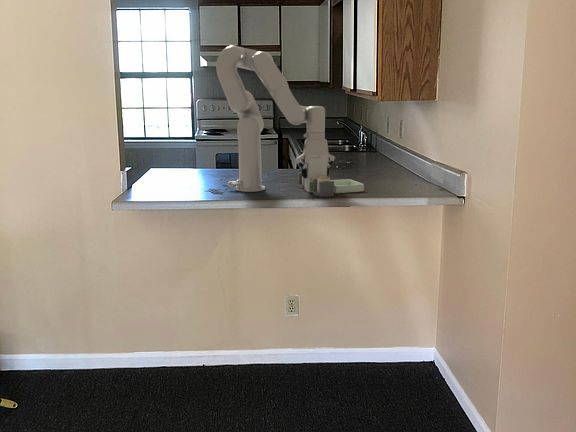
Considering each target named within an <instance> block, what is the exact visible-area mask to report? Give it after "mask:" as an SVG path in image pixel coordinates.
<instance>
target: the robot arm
mask: <svg viewBox="0 0 576 432" xmlns="http://www.w3.org/2000/svg"><path fill="white" fill-rule="evenodd" d="M215 68H216V69H215V70H216V74H217V78H218V80H219V83H220V86H221V88H222V90H223V93H224V95H225V98H226V100H227V103H228V105H229V107H230V110H231V111H232V112H234V113H236V114H237V117H238V119H239V120H238V122H237V127H236V133H237V142H238V143H237V147H238V178H237V180H234V181H233V180H232V181H227V185H228V187H235V190H236V191H239V192H241V193H243V192H244V193H245V192H246V193H254V192H255V193H256V192H262V191H265V190H266V186H265V185H262V183H263V181H262V143H261V142H262V141H261V133H262V131H263V130H264V128H265V125H264V124H265V122H264V118H263V117H262V116H263V115H262V113H261V112H260V109H259V107H258V104H257V102H256V100H255V98H254V96H253V94H252V93H251V92H250V91H249V90H246V89H245V88H246V87H245V86H244V83H243V81H242V79H241V76H240V75H239V72H238V68H239V69H244V70H247V71H248V70H249V71H253V72H254V73H255V74H256V75H257V77H258V78H259V80H260V81H261V83H262V84H263V86H264V87H265V88H266V89H267V91H268V93H269V95H270V96H271V98H272V99H273V100H274V102H275V104H276V106H277V107H278V109H279V110H280V112H281V113H282V114H283V116H284V117H285V119H286V120H287V122H288V123H290V124H291V125H294V126H299V125H301V124H305V123H306V132H305V133H304V134H303V138H306V139H305V140H304V144H303V152H302V154H300V155H299V156H297V157H295V161H296V163H297V166H299V167H300V169H301V173H302V176H303V178H307V169H306V167H307V165H308V164H310V156H315V155H327V176H328V177H329V175H330V168H331V166H332V164H333V163H334V160H336V156H334V155H332V154H331V153H330V152H329V145H328V140H327V139H325V138H326V137H325V135H326V133H325V131H326V129H325V128H326V127H325V126H326V121H325V120H326V109H325V107H324V106H323V105H322V106H320V105H310V106H304V105H300V103H299V102H298V101H297V99H296V98H295V96H294V95H293V93H292V91H291V89H290V87H289V83H288V81H287V79H286V78H285V76H284V75H283V73H282V72H281V70H280V69H279V67H278V66H277V64H276V63H275V62H274V59H273V56H272V55H271V54H270V52H266V51H262V50H261V51H260V50H255V49H252V48H251V49H250V48H245V47H242V46H237V45H233V44H232V45H229V46H226V47H225V48H223V49H222V50H221V52H220V53H219V55H218V56H217V58H216V63H215ZM329 158H330V159H329ZM301 160H302V161H303V162H301Z"/></svg>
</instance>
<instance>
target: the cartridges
mask: <svg viewBox="0 0 576 432" xmlns="http://www.w3.org/2000/svg"><path fill="white" fill-rule="evenodd" d="M330 180H331V176H329V175H328V176H317V192H318V193H319V182H322V181H330ZM302 185H303V176H302Z"/></svg>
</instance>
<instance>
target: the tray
mask: <svg viewBox="0 0 576 432" xmlns="http://www.w3.org/2000/svg"><path fill="white" fill-rule="evenodd" d="M330 181H334V194H341V193H342V194H345V193H356V192H357V193H359V192H364V189H365V184H364V183H362V182H359V181H356V180H354V179H348V178H347V179H346V178H345V179H333V180H332V179H330Z"/></svg>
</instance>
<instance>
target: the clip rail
mask: <svg viewBox="0 0 576 432" xmlns="http://www.w3.org/2000/svg"><path fill="white" fill-rule="evenodd" d="M304 185H305V178H303V185H302V172H297V188H299V189H303V190H304ZM312 193H313V194H312V195H315V196H317V197H319V198H322V197H324V198H325V197H334V196H335V192H334V181H322V182H319V193H318V192H317V178H313V192H312Z"/></svg>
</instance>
